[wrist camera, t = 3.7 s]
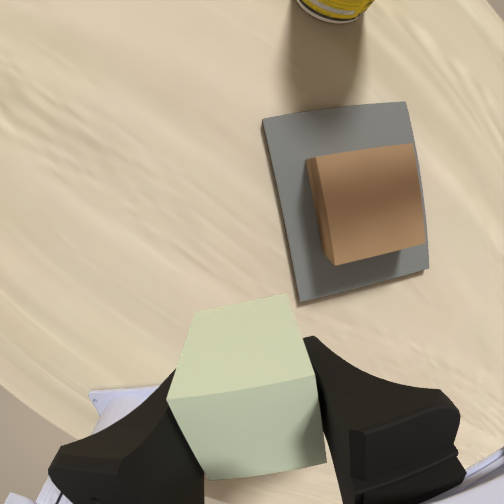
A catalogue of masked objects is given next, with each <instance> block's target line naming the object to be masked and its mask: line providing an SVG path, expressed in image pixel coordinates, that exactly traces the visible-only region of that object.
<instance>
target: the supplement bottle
mask: <svg viewBox="0 0 504 504" xmlns="http://www.w3.org/2000/svg"><path fill="white" fill-rule="evenodd" d="M373 1H374V0H297V2H298V4H299V5H300V6H301V7H302V8H303V9H304V10H305V11H306V12H307V13H309V14H310V15H312V16H314V17H315V18H318V19H320V20H323V21H326V22H330V23H349V22H352V21H354V20H356V19H358V18H359V17H360V16H361V15H362V14H363V13H364V12H365V11H366V10H367V9H368V7H369V6H370V5H371V4H372V2H373Z"/></svg>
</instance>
